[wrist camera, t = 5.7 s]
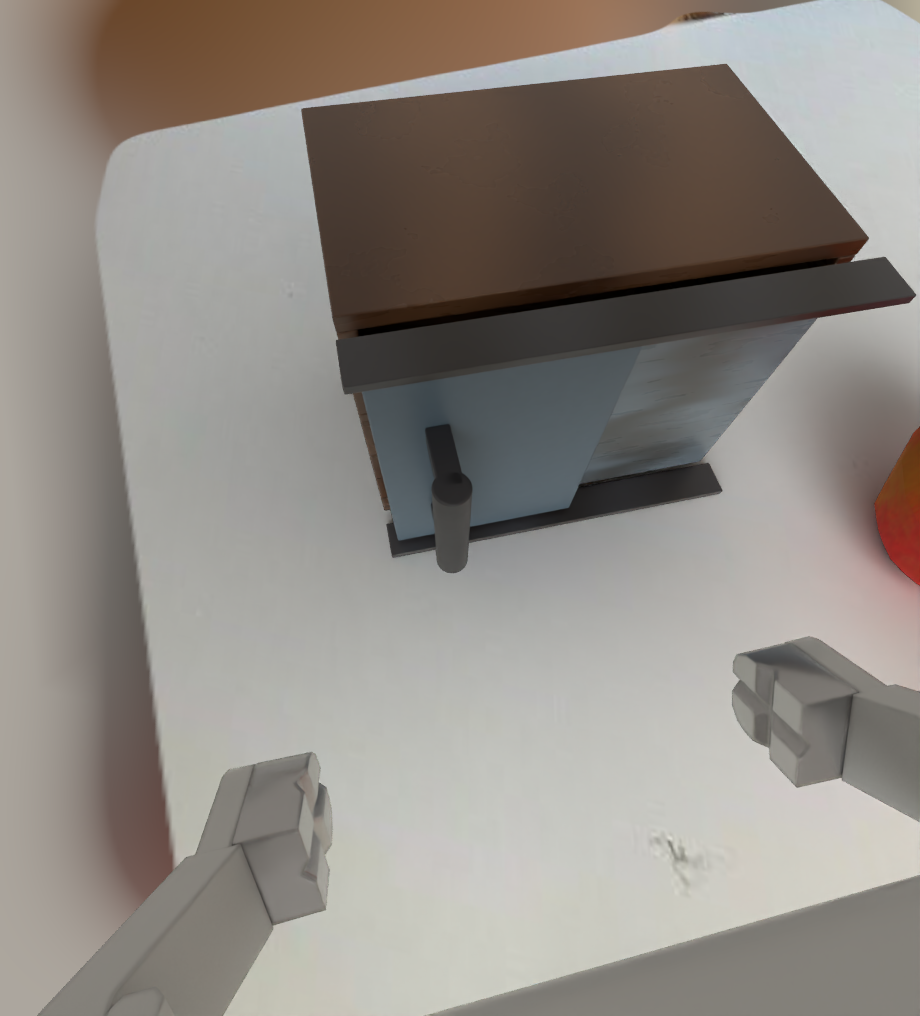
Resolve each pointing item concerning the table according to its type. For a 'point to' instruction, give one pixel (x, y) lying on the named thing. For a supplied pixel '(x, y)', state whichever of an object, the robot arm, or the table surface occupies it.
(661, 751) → the table surface
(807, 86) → the table surface
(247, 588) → the table surface
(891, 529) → the apple
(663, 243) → the closet
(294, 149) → the table surface
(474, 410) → the closet door
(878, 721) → the robot arm
